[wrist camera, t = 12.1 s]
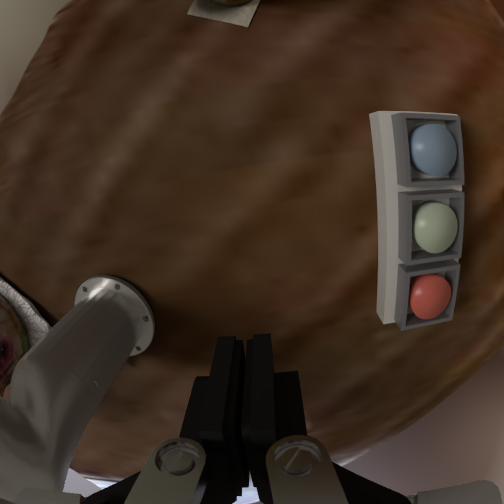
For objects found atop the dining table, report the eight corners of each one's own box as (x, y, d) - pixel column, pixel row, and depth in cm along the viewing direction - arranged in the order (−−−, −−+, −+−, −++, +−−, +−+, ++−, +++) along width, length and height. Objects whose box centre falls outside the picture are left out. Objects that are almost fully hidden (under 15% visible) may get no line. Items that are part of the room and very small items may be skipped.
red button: (440, 307, 32) (447, 315, 30) (404, 314, 32) (410, 322, 31) (445, 267, 30) (453, 274, 28) (407, 273, 31) (414, 281, 29)
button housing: (441, 300, 36) (460, 320, 30) (376, 312, 37) (389, 335, 31) (443, 115, 28) (469, 113, 23) (369, 114, 29) (386, 108, 24)
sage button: (447, 244, 29) (456, 250, 28) (408, 249, 30) (416, 256, 28) (448, 199, 28) (458, 202, 26) (409, 201, 28) (417, 205, 26)
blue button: (448, 173, 27) (458, 175, 25) (407, 174, 27) (416, 176, 26) (444, 125, 25) (454, 124, 23) (403, 124, 26) (411, 123, 24)
